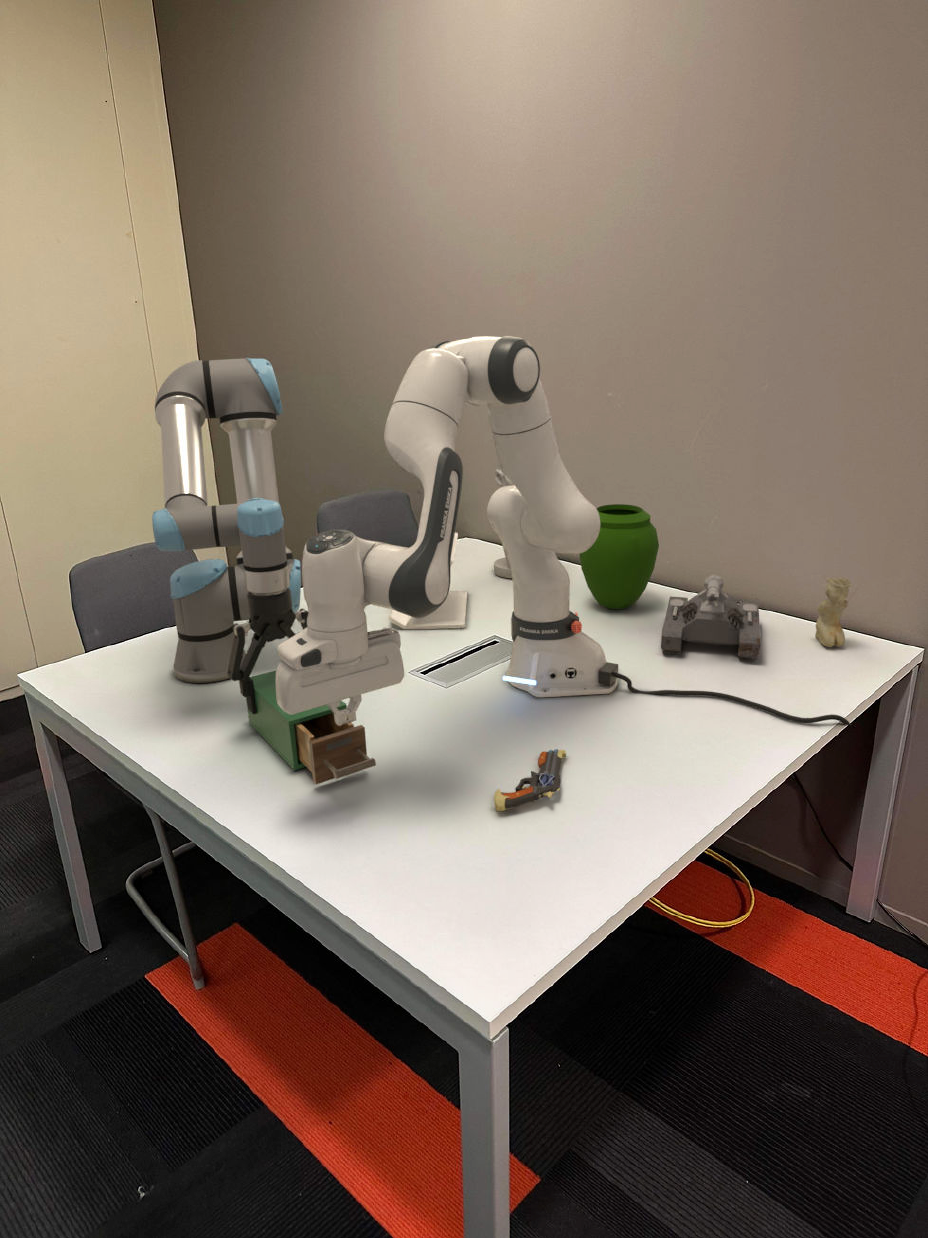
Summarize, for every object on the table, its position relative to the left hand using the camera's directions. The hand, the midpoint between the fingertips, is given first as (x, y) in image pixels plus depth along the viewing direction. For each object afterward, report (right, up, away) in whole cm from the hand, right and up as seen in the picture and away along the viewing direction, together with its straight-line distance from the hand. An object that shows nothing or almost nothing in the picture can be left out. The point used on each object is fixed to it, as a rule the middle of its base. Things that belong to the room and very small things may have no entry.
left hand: (281, 702), depth 158 cm
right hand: (+15, -1, -25) cm, 29 cm away
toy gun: (+44, -11, -21) cm, 50 cm away
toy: (+89, +11, +34) cm, 96 cm away
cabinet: (+4, -6, -4) cm, 8 cm away
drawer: (+10, -8, -13) cm, 18 cm away
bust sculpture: (+51, +28, +81) cm, 100 cm away
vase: (+72, +19, +57) cm, 94 cm away
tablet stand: (+25, +17, +56) cm, 64 cm away
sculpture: (+114, +10, +30) cm, 118 cm away
